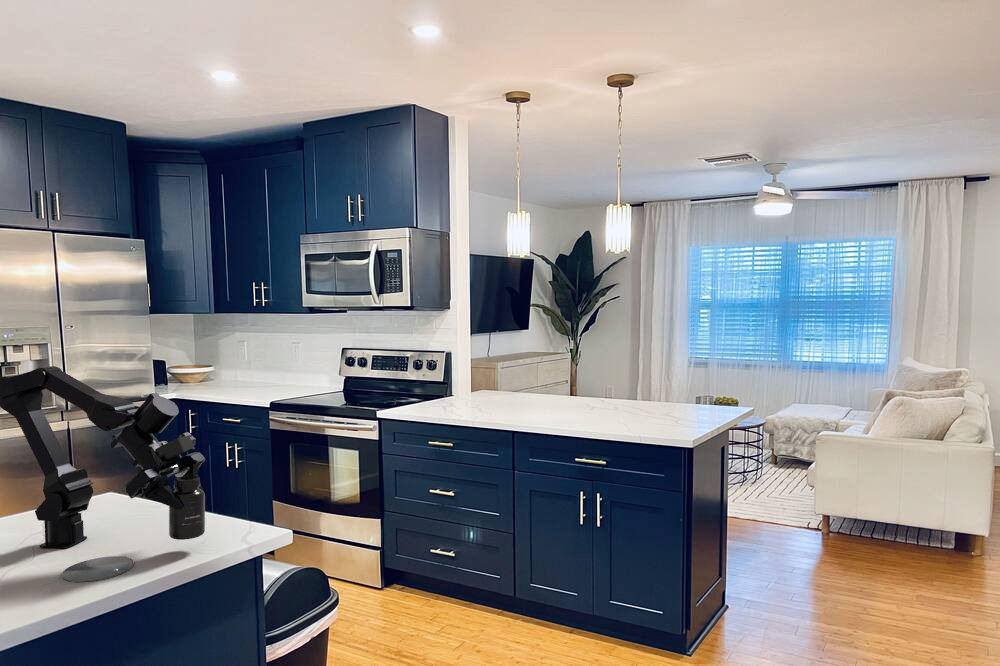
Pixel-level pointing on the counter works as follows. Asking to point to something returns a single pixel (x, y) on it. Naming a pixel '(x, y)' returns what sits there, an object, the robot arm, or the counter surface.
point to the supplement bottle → (187, 509)
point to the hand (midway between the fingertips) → (192, 503)
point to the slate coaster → (98, 568)
